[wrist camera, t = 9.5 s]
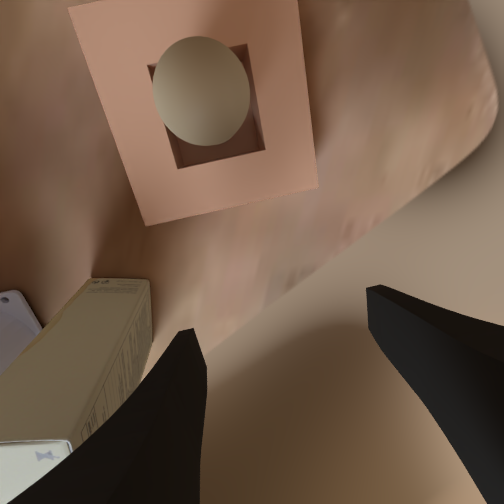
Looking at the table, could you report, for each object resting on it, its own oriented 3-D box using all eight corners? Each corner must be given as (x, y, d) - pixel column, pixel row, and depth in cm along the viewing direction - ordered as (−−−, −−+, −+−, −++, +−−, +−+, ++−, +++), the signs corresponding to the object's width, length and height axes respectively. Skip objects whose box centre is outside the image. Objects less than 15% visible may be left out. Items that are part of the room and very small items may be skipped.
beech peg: (194, 149, 17) (170, 155, 10) (178, 92, 16) (137, 48, 9) (244, 138, 17) (258, 134, 10) (232, 79, 16) (238, 25, 9)
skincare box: (89, 275, 20) (-80, 441, 9) (152, 277, 21) (69, 436, 9) (98, 347, 22) (-28, 553, 11) (156, 347, 23) (91, 543, 12)
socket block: (159, 212, 19) (145, 226, 16) (100, 37, 15) (67, 7, 12) (302, 180, 19) (318, 187, 16) (277, 0, 16) (292, -40, 12)
